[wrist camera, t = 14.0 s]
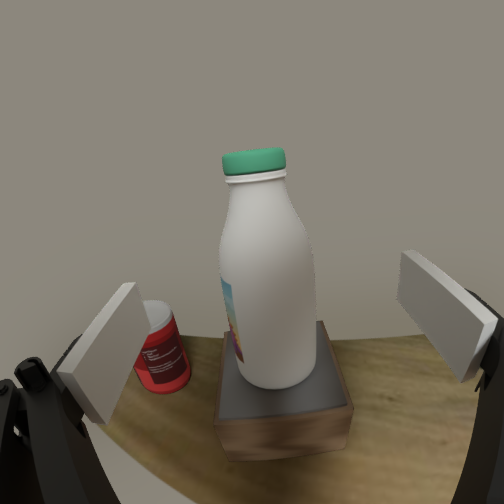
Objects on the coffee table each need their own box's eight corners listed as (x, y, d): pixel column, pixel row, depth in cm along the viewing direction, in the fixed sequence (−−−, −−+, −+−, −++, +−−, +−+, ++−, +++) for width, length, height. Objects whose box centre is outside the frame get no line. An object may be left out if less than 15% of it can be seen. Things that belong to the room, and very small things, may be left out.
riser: (321, 363, 36) (322, 316, 33) (344, 448, 23) (354, 406, 20) (234, 373, 37) (224, 328, 34) (229, 461, 23) (212, 422, 21)
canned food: (154, 357, 41) (132, 298, 37) (199, 363, 40) (181, 300, 36) (132, 389, 34) (102, 328, 30) (181, 400, 33) (154, 335, 29)
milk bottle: (326, 348, 28) (318, 143, 21) (297, 401, 22) (278, 147, 15) (261, 334, 32) (237, 151, 25) (224, 378, 26) (177, 161, 19)
